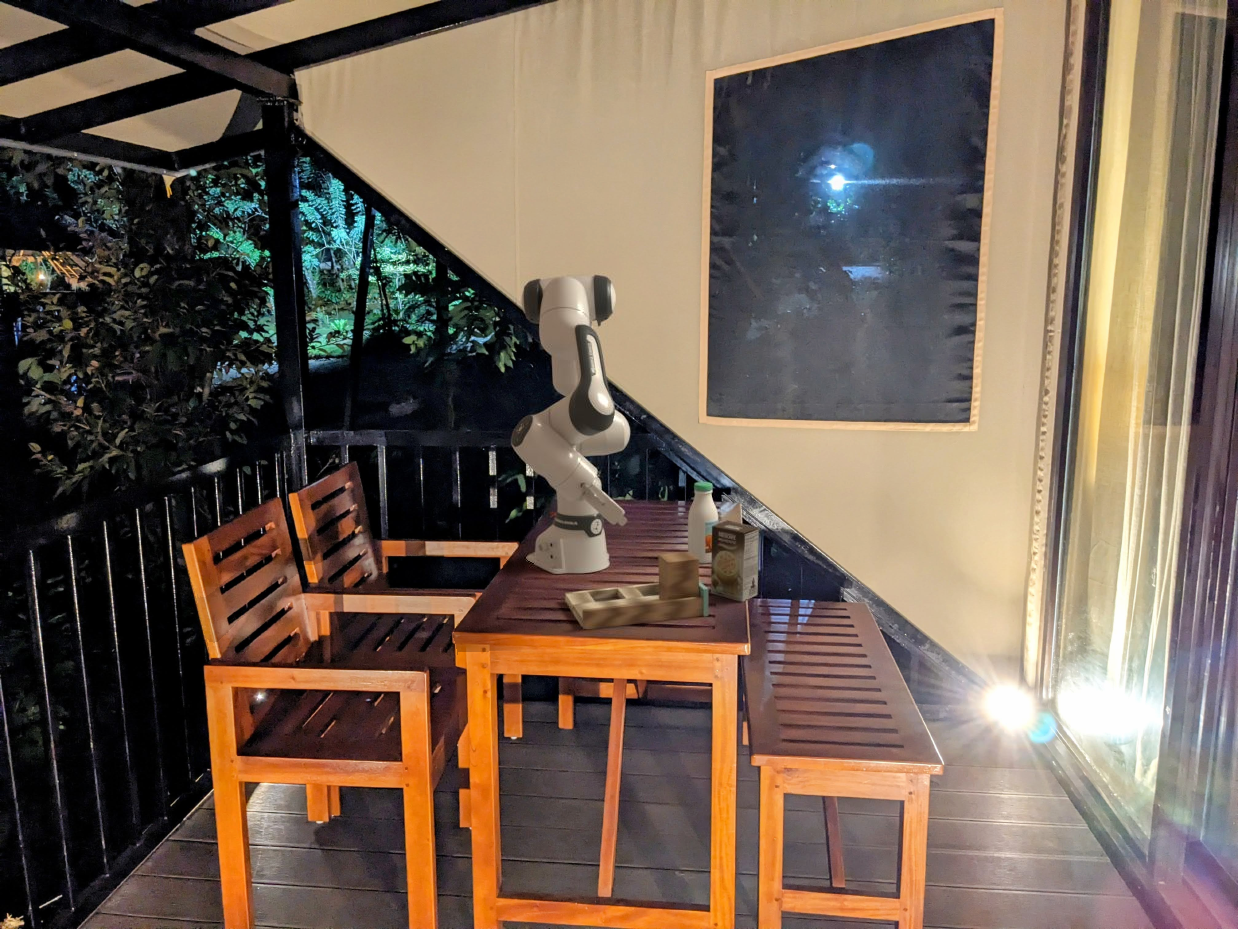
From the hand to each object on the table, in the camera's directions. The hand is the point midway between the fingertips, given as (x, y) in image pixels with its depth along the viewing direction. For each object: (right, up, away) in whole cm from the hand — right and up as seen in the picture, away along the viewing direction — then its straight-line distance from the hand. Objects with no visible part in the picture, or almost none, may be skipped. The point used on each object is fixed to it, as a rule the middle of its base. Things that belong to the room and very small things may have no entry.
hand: (623, 522), depth 189 cm
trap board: (+2, -19, +8) cm, 21 cm away
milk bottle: (+21, -13, +43) cm, 49 cm away
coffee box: (+25, -18, +16) cm, 35 cm away
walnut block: (+12, -18, +6) cm, 22 cm away
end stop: (+15, -18, +11) cm, 26 cm away
